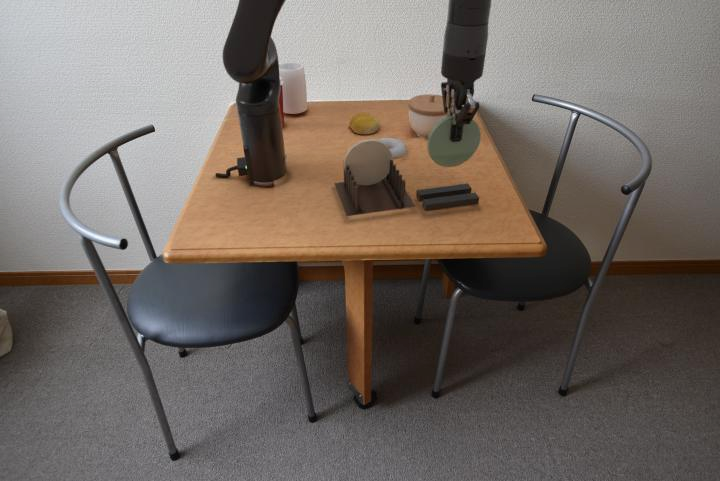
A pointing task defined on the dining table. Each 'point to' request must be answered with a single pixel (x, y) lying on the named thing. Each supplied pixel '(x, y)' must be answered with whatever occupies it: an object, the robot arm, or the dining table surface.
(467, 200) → the plate stand
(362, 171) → the cream plate
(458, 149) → the sage plate
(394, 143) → the donut
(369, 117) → the bread roll
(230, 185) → the dining table surface
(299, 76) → the cup
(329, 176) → the dining table surface
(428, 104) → the lidded bowl
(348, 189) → the dish rack
